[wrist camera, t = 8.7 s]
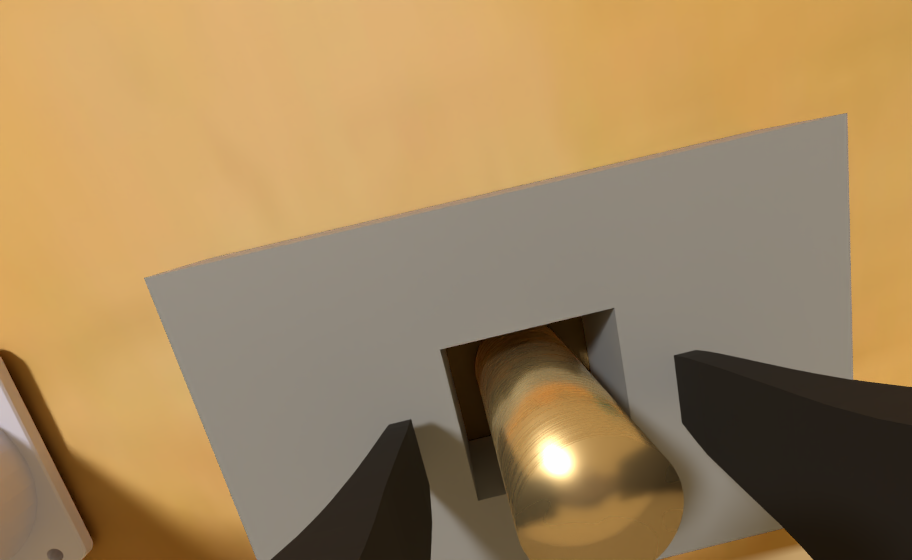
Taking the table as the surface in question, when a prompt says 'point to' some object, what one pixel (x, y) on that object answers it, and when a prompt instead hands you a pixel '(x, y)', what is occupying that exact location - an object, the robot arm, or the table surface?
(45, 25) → the table surface
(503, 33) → the table surface
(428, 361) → the hole plate
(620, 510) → the brass pin
